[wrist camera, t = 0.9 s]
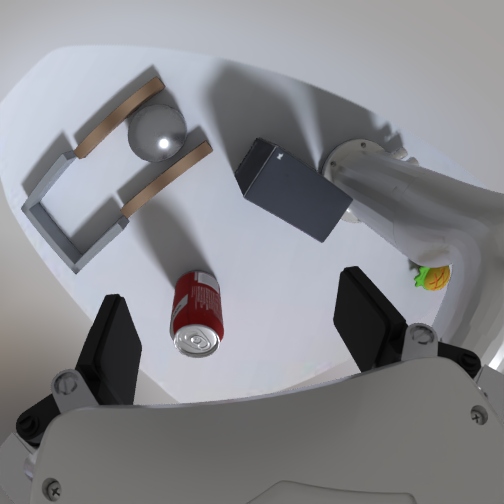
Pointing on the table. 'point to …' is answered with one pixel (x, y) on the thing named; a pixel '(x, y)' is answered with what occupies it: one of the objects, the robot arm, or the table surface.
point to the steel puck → (157, 133)
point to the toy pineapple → (432, 277)
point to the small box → (291, 190)
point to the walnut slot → (118, 118)
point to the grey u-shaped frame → (49, 227)
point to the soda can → (197, 315)
